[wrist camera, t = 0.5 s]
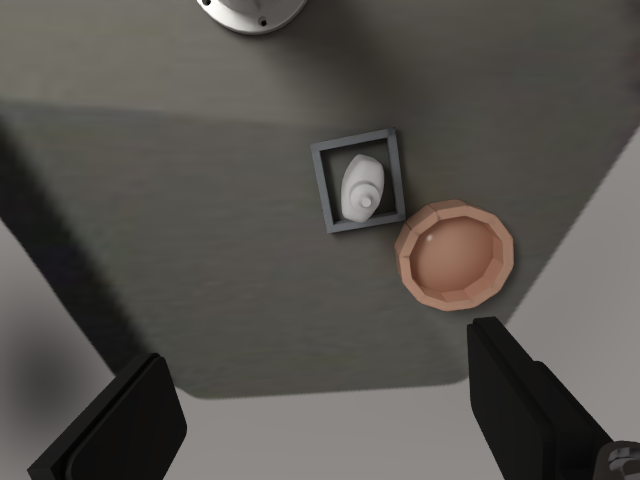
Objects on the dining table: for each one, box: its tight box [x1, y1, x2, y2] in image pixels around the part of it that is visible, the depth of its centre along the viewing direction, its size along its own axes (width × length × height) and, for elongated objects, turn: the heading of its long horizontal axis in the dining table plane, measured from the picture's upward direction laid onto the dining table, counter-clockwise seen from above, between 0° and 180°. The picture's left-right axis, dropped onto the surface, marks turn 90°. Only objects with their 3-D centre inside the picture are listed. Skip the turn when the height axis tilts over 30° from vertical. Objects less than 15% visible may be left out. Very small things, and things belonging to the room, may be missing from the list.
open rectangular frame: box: [310, 127, 406, 233], centre depth 36 cm, size 10×9×2 cm
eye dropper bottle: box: [341, 154, 384, 223], centre depth 31 cm, size 4×6×12 cm
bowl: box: [394, 199, 514, 311], centre depth 37 cm, size 11×11×4 cm
